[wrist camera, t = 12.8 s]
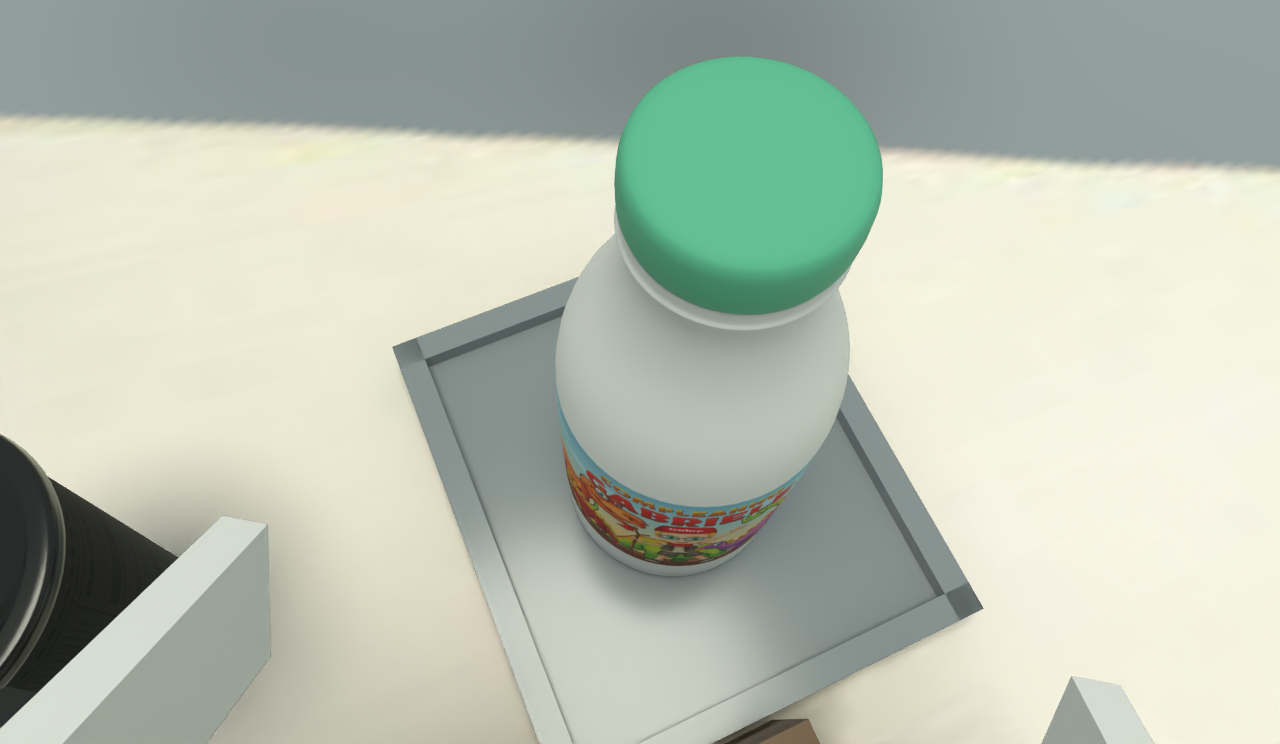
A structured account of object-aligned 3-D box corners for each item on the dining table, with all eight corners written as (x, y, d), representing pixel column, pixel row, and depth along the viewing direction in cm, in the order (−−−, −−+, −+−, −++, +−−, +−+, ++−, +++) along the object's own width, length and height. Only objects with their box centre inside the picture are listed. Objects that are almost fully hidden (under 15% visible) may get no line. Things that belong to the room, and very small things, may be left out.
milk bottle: (552, 403, 34) (488, 9, 15) (741, 367, 35) (897, -45, 16) (590, 600, 31) (567, 408, 12) (794, 555, 32) (1058, 315, 13)
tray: (402, 364, 35) (392, 347, 34) (747, 233, 38) (753, 211, 36) (568, 810, 29) (566, 815, 27) (964, 614, 32) (983, 608, 30)
